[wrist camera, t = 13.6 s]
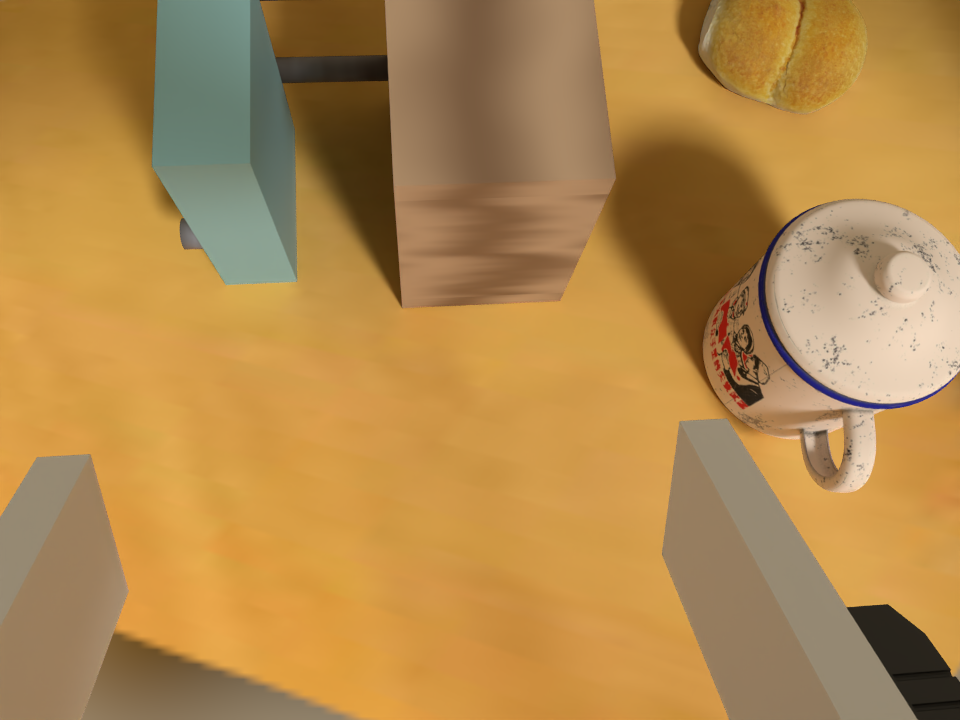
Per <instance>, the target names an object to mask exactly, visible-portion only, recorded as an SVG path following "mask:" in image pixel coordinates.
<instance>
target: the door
mask: <svg viewBox="0 0 960 720" xmlns="http://www.w3.org/2000/svg"><path fill="white" fill-rule="evenodd" d="M152 168H153V169H154V171H155V172H156V174H157V176H158V177H159V179H160V180H161V182H162V184H163V185H164V187H165V188H166V190H167V192H168V193H169V195H170V196H171V198H172V200H173V201H174V203H175V204H176V206H177V208H178V209H179V211H180V212H181V214H182V215H183V217H184V218H182V219H181V221H180V237H181V242H182V246H183V248H184V249H204V251H205V252H206V254H207V255H208V257H209V259H210V260H211V262H212V263H213V265H214V267H215V268H216V270H217V271H218V273H219V275H220V276H221V278H222V279H223V281H224V282H225V284H226V285H234V284H257V283H279V282H297V240H296V174H295V128H294V125H293V121H292V117H291V114H290V110H289V106H288V103H287V99H286V95H285V92H284V88H283V84H282V81H281V77H280V73H279V70H278V66H277V62H276V59H275V55H274V51H273V48H272V44H271V40H270V37H269V33H268V29H267V26H266V22H265V19H264V15H263V11H262V8H261V4H260V0H158V5H157V33H156V62H155V90H154V119H153V147H152Z"/></svg>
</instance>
